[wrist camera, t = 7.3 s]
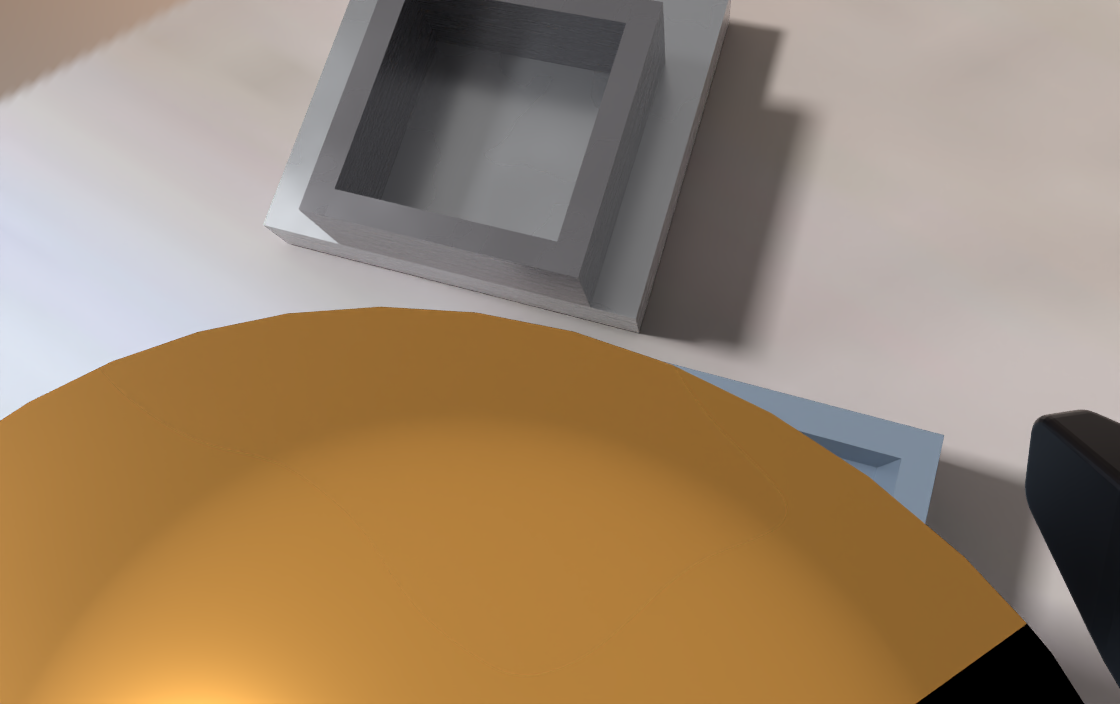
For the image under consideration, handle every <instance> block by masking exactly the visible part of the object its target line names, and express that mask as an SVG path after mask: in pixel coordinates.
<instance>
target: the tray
mask: <svg viewBox="0 0 1120 704" xmlns="http://www.w3.org/2000/svg"><path fill="white" fill-rule="evenodd" d="M474 313H475V312H474ZM665 363H666V362H665ZM668 364H670V363H668ZM671 365H674V364H671ZM674 366H676V367H678V368H680V369H682V370H684V371H686V372H688V373H690V374H692V375H694V376H696V377H698V378H700V379H702V380H704V381H706V382H709V383H711V384H713V385H715V386H717V387H719V388H721V389H723V390H725V391H727V392H729V393H731V394H733V395H735V396H737V397H739V398H741V399H743V400H746V401H748V402H750V403H752V404H754V405H756V406H758V407H760V408H762V409H764V410H766V411H768V412H770V413H772V414H773V415H775V416H777V417H778V418H780V419H781V420H783V421H784V422H786V423H787V424H789V425H790V426H792V427H793V428H795V429H796V430H798V431H800V432H801V433H803V434H804V435H806V436H807V437H809V438H810V439H812V440H813V441H815V442H816V443H818V444H819V445H821V446H823V447H824V448H826V449H827V450H829V451H830V452H832V453H833V454H835V455H836V456H838V457H839V458H841V459H842V460H844V461H846V462H847V463H849V464H850V465H852V466H853V467H855V468H856V469H858V470H859V471H861V472H862V473H864V474H865V475H867V476H869V477H870V478H871V479H872V480H873V481H875V482H876V483H877V484H878V485H879V486H880V487H882V488H883V489H884V490H885V491H886V492H888V493H889V494H890V495H891V496H892V497H894V498H895V499H896V500H897V501H898V502H900V503H901V504H902V505H903V506H904V507H905V508H907V509H908V510H909V511H910V512H911V513H913V514H914V515H915V516H916V517H917V518H919V519H920V520H921V521H922V522H923V523H924V524H925V523H926V518H927V513H928V508H929V504H930V499H931V494H932V490H933V485H934V480H935V476H936V471H937V466H938V462H939V457H940V452H941V448H942V443H943V438H944V435H941V434H937V433H934V432H930V431H926V430H922V429H918V428H914V427H911V426H907V425H903V424H899V423H895V422H892V421H888V420H884V419H880V418H876V417H872V416H869V415H865V414H861V413H857V412H853V411H850V410H846V409H842V408H838V407H834V406H830V405H827V404H823V403H819V402H815V401H811V400H808V399H804V398H800V397H796V396H792V395H788V394H785V393H781V392H777V391H773V390H769V389H765V388H762V387H758V386H754V385H750V384H746V383H743V382H739V381H735V380H731V379H727V378H723V377H720V376H716V375H712V374H708V373H704V372H701V371H697V370H693V369H689V368H685V367H681V366H678V365H674Z"/></svg>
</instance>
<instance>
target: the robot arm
mask: <svg viewBox="0 0 1120 704" xmlns="http://www.w3.org/2000/svg"><path fill="white" fill-rule="evenodd" d="M1025 490H1026V497H1027V501H1028V505H1029V508H1030V510H1031V512H1032V515H1033V517H1034V519H1035V521H1036V523H1037V525H1038V527H1039V529H1040V531H1041V533H1042V535H1043V537H1044V540H1045V542H1046V544H1047V546H1048V548H1049V550H1050V552H1051V554H1052V556H1053V558H1054V560H1055V562H1056V565H1057V567H1058V569H1059V571H1060V573H1061V575H1062V577H1063V579H1064V581H1065V583H1066V585H1067V587H1068V590H1069V592H1070V594H1071V596H1072V598H1073V600H1074V602H1075V604H1076V606H1077V608H1078V610H1079V612H1080V615H1081V617H1082V619H1083V621H1084V623H1085V625H1086V627H1087V629H1088V631H1089V633H1090V635H1091V637H1092V639H1093V641H1094V643H1095V645H1096V647H1097V649H1098V651H1099V653H1100V655H1101V657H1102V659H1103V661H1104V662H1105V664H1106V666H1107V667H1108V669H1109V671H1110V673H1111V674H1112V676H1113V678H1114V679H1115V681H1116V683H1117V684H1118V686H1119V688H1120V423H1118V422H1116V421H1113V420H1111V419H1109V418H1106V417H1104V416H1102V415H1099V414H1097V413H1095V412H1092V411H1089V410H1074V411H1067V412H1061V413H1054V414H1048V415H1043V416H1041V417H1039V418H1038V419H1037V420H1036V421H1035V423H1034V425H1033V428H1032V432H1031V439H1030V448H1029V456H1028V464H1027V472H1026V481H1025Z"/></svg>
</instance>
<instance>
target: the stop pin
mask: <svg viewBox="0 0 1120 704" xmlns="http://www.w3.org/2000/svg"><path fill="white" fill-rule="evenodd" d="M0 704H1084V703H1083V701H1082V700H1081V698H1080V696H1079V695H1078V693H1077V692H1076V690H1075V689H1074V687H1073V686H1072V684H1071V682H1070V681H1069V679H1068V678H1067V676H1066V675H1065V673H1064V672H1063V670H1062V668H1061V667H1060V665H1059V664H1058V662H1057V661H1056V659H1055V658H1054V656H1053V655H1052V653H1051V652H1050V651H1049V649H1048V648H1047V647H1046V646H1045V645H1044V643H1043V642H1042V641H1041V640H1040V639H1039V637H1038V636H1037V635H1036V634H1035V633H1034V632H1033V630H1032V629H1031V628H1030V627H1029V626H1028V624H1027V623H1026V622H1025V621H1024V620H1023V619H1022V618H1021V617H1020V616H1019V615H1018V614H1017V613H1016V612H1015V610H1014V609H1013V608H1012V607H1011V606H1010V605H1009V604H1008V603H1007V602H1006V601H1005V600H1004V599H1003V598H1002V597H1001V596H1000V594H999V593H998V592H997V591H996V590H995V589H994V588H993V587H992V586H991V585H990V584H989V583H988V582H987V581H986V580H985V579H984V577H983V576H982V575H981V574H980V573H979V572H978V571H977V570H976V569H975V568H974V567H973V566H972V565H971V564H970V563H969V561H968V560H967V559H966V558H965V557H964V556H963V555H961V554H960V553H959V552H958V551H957V550H955V549H954V548H953V547H952V546H951V545H949V544H948V543H947V542H946V541H945V540H944V539H942V538H941V537H940V536H939V535H938V534H936V533H935V532H934V531H933V530H932V529H930V528H929V527H928V526H927V525H926V524H924V523H923V522H922V521H921V520H920V519H919V518H917V517H916V516H915V515H914V514H913V513H911V512H910V511H909V510H908V509H907V508H905V507H904V506H903V505H902V504H901V503H900V502H898V501H897V500H896V499H895V498H894V497H892V496H891V495H890V494H889V493H888V492H886V491H885V490H884V489H883V488H882V487H880V486H879V485H878V484H877V483H876V482H875V481H873V480H872V479H871V478H870V477H869V476H867V475H865V474H864V473H862V472H861V471H859V470H858V469H856V468H855V467H853V466H852V465H850V464H849V463H847V462H846V461H844V460H842V459H841V458H839V457H838V456H836V455H835V454H833V453H832V452H830V451H829V450H827V449H826V448H824V447H823V446H821V445H819V444H818V443H816V442H815V441H813V440H812V439H810V438H809V437H807V436H806V435H804V434H803V433H801V432H800V431H798V430H796V429H795V428H793V427H792V426H790V425H789V424H787V423H786V422H784V421H783V420H781V419H780V418H778V417H777V416H775V415H773V414H772V413H770V412H768V411H766V410H764V409H762V408H760V407H758V406H756V405H754V404H752V403H750V402H748V401H746V400H743V399H741V398H739V397H737V396H735V395H733V394H731V393H729V392H727V391H725V390H723V389H721V388H719V387H717V386H715V385H713V384H711V383H709V382H706V381H704V380H702V379H700V378H698V377H696V376H694V375H692V374H690V373H688V372H686V371H684V370H682V369H680V368H678V367H676V366H674V365H671V364H668V363H665V362H662V361H659V360H656V359H653V358H650V357H647V356H644V355H641V354H638V353H635V352H633V351H630V350H627V349H624V348H621V347H618V346H615V345H612V344H609V343H606V342H603V341H600V340H597V339H594V338H591V337H588V336H585V335H582V334H579V333H576V332H573V331H567V330H562V329H557V328H552V327H547V326H542V325H537V324H532V323H527V322H521V321H516V320H511V319H506V318H501V317H496V316H491V315H486V314H481V313H474V312H457V311H441V310H424V309H408V308H392V307H372V308H358V309H344V310H330V311H316V312H302V313H288V314H283V315H278V316H273V317H269V318H264V319H259V320H254V321H249V322H244V323H239V324H235V325H230V326H225V327H220V328H215V329H210V330H205V331H200V332H197V333H194V334H191V335H188V336H185V337H182V338H179V339H176V340H173V341H170V342H167V343H165V344H162V345H159V346H156V347H153V348H150V349H147V350H144V351H141V352H138V353H136V354H133V355H130V356H127V357H124V358H121V359H118V360H115V361H112V362H110V363H108V364H106V365H104V366H102V367H100V368H98V369H96V370H94V371H92V372H90V373H88V374H86V375H83V376H81V377H79V378H77V379H75V380H73V381H71V382H69V383H67V384H65V385H63V386H61V387H59V388H57V389H55V390H53V391H51V392H49V393H47V394H45V395H43V396H41V397H39V398H37V399H35V400H33V401H30V402H29V403H27V404H25V405H24V406H22V407H21V408H19V409H18V410H16V411H15V412H13V413H12V414H10V415H9V416H7V417H5V418H4V419H2V420H1V421H0Z"/></svg>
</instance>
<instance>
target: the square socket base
mask: <svg viewBox="0 0 1120 704" xmlns="http://www.w3.org/2000/svg"><path fill="white" fill-rule="evenodd" d="M730 4H731V0H350V2H349V4H348V7H347V9H346V12H345V15H344V17H343V20H342V22H341V25H340V28H339V30H338V33H337V35H336V38H335V40H334V43H333V46H332V48H331V51H330V53H329V56H328V59H327V61H326V64H325V66H324V69H323V72H322V74H321V77H320V79H319V82H318V84H317V87H316V90H315V92H314V95H313V97H312V100H311V103H310V105H309V108H308V110H307V113H306V115H305V118H304V121H303V123H302V126H301V128H300V131H299V134H298V136H297V139H296V141H295V144H294V147H293V149H292V152H291V154H290V157H289V159H288V162H287V165H286V167H285V170H284V172H283V175H282V178H281V180H280V183H279V185H278V188H277V191H276V193H275V196H274V198H273V201H272V203H271V206H270V209H269V211H268V214H267V216H266V219H265V222H264V224H263V225H264V226H265V227H267V228H268V229H269V230H271V231H272V232H273V233H275V234H276V235H277V236H279V237H280V238H282V239H283V240H284V241H286V242H287V243H289V244H293V245H297V246H301V247H305V248H309V249H312V250H316V251H320V252H324V253H328V254H332V255H336V256H340V257H344V258H348V259H352V260H355V261H359V262H363V263H367V264H371V265H375V266H379V267H383V268H387V269H391V270H395V271H398V272H402V273H406V274H410V275H414V276H418V277H422V278H426V279H430V280H434V281H438V282H441V283H445V284H449V285H453V286H457V287H461V288H465V289H469V290H473V291H477V292H481V293H484V294H488V295H492V296H496V297H500V298H504V299H508V300H512V301H516V302H520V303H524V304H528V305H531V306H535V307H539V308H543V309H547V310H551V311H555V312H559V313H563V314H567V315H571V316H574V317H578V318H582V319H586V320H590V321H594V322H598V323H602V324H606V325H610V326H614V327H617V328H621V329H625V330H629V331H633V332H637V333H639V331H640V328H641V324H642V321H643V317H644V314H645V310H646V307H647V304H648V300H649V297H650V293H651V290H652V286H653V283H654V279H655V276H656V272H657V269H658V266H659V262H660V259H661V255H662V252H663V248H664V245H665V241H666V238H667V235H668V231H669V228H670V224H671V221H672V217H673V214H674V210H675V207H676V203H677V200H678V197H679V193H680V190H681V186H682V183H683V179H684V176H685V172H686V169H687V166H688V162H689V159H690V155H691V152H692V148H693V145H694V141H695V138H696V135H697V131H698V128H699V124H700V121H701V117H702V114H703V110H704V107H705V103H706V100H707V97H708V93H709V90H710V86H711V83H712V79H713V76H714V72H715V69H716V66H717V62H718V59H719V55H720V52H721V48H722V45H723V41H724V38H725V34H726V31H727V28H728V24H729V16H730Z"/></svg>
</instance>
